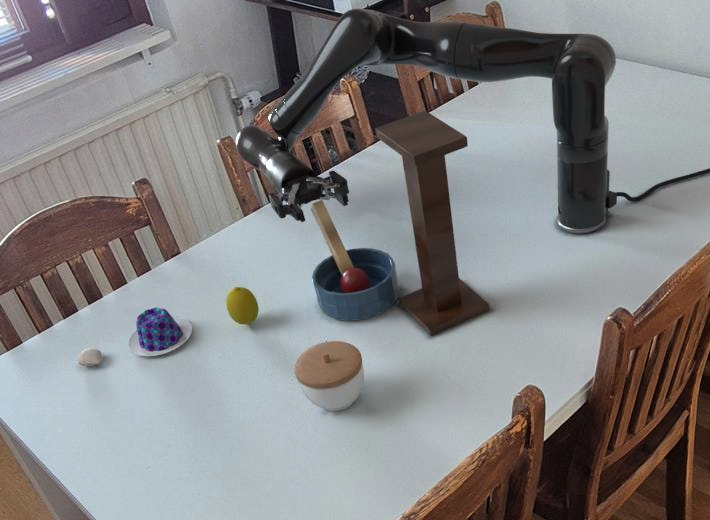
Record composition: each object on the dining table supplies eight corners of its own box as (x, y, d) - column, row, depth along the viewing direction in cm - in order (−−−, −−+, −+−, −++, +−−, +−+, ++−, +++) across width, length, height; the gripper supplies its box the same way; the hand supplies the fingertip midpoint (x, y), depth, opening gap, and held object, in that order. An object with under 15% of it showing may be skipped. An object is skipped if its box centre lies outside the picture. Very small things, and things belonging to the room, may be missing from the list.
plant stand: (398, 303, 149) (366, 131, 126) (454, 280, 152) (433, 107, 129) (432, 338, 141) (405, 159, 118) (490, 312, 144) (475, 133, 121)
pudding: (206, 333, 150) (196, 309, 146) (153, 367, 145) (141, 344, 141) (169, 312, 157) (160, 289, 153) (117, 344, 151) (105, 321, 147)
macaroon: (96, 352, 150) (90, 342, 148) (112, 361, 148) (106, 350, 146) (77, 365, 148) (71, 354, 146) (92, 374, 146) (86, 363, 144)
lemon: (257, 333, 148) (245, 296, 142) (229, 333, 149) (216, 296, 144) (267, 315, 152) (255, 278, 146) (240, 315, 153) (227, 278, 147)
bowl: (363, 266, 159) (358, 239, 155) (416, 293, 151) (411, 264, 146) (303, 303, 153) (295, 276, 149) (354, 333, 145) (348, 305, 140)
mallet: (371, 295, 153) (377, 286, 148) (346, 305, 152) (350, 297, 146) (328, 203, 152) (332, 191, 147) (302, 212, 151) (305, 201, 146)
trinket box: (305, 383, 136) (291, 338, 130) (368, 373, 136) (358, 327, 129) (305, 426, 129) (290, 380, 122) (371, 415, 129) (360, 369, 122)
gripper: (251, 171, 153) (282, 203, 142) (319, 146, 157) (355, 176, 146) (262, 207, 158) (293, 241, 148) (328, 183, 162) (363, 214, 151)
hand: (324, 208), depth 147 cm, fingers open, 8 cm apart
